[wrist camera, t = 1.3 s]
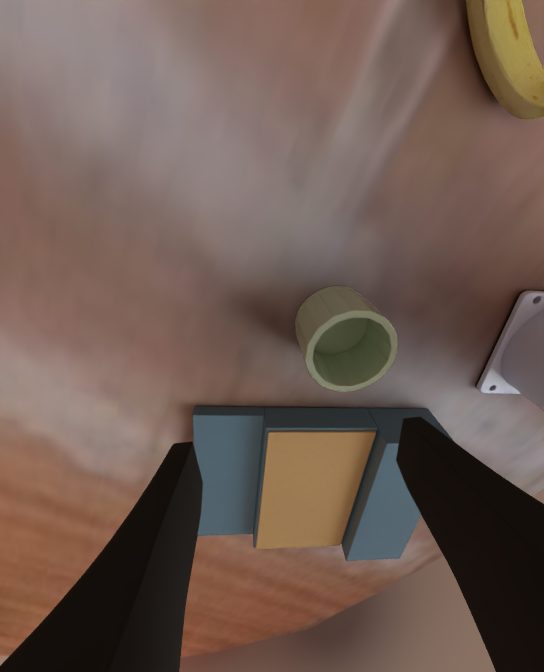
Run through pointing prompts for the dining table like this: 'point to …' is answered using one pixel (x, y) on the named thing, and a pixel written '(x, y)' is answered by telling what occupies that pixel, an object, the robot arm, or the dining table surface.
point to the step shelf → (306, 477)
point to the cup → (344, 339)
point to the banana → (507, 55)
